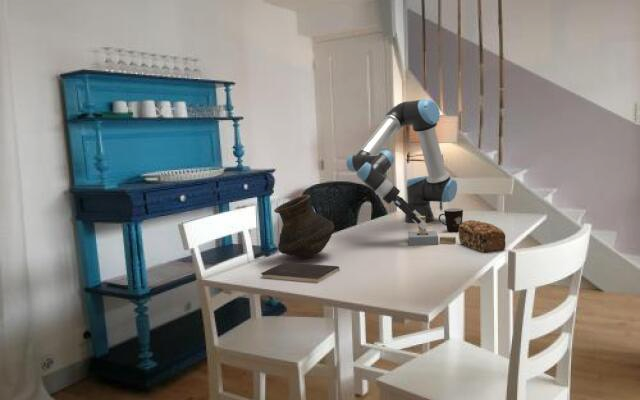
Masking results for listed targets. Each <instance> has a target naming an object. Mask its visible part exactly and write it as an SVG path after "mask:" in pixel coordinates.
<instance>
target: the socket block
mask: <svg viewBox="0 0 640 400" xmlns="http://www.w3.org/2000/svg"><path fill="white" fill-rule="evenodd" d="M407 237H408V246H411V247H412V246H434V245H436V246H437V245H439V235H438V233H437V230H426V235H419V231H408V232H407Z"/></svg>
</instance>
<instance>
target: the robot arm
mask: <svg viewBox="0 0 640 400" xmlns="http://www.w3.org/2000/svg"><path fill="white" fill-rule="evenodd" d="M440 117H441V116H440V108H439V106H438V104H437V103H436V102H435V101H434V100H433V99H418V100H411V101H409V100H407V101H402V102H400V103H398V104H397V105H395V106H393V107H392V108H391V109H389V111H388V112H387V113H386V114H385V115H384V117H382V122H381V123H380V125H379V126H378V127H377V128H376V130H375V131H374V132H373V134H372V135H371V136H370V137H369V138H368V140H366V142H365V143H364V144H363V145H362V147H361V148H360V149H359V151H358V152H357V153H356V154H353V155H349V156H348V157H347V158H346V163H345V164H346V167H347V170H348V171H349V172H354V173H356V176H357V177H358V178H359V179H360V180H361V182H362V183H364V184H366V186H367V187H368V188H370V189H371V190H372V191H373V192H375V196H377V195H378V196H379V197H381V198H382V200H383V201H384V202H385V203H387V204H388V205H389V204H392V202H394V203H393V204H394V206H395V207H397V208H398V209H399V210H401V211H402V212H403V214H405V215H404V221H405V222H407V223H413V224H414V223H415V224H416V225H417V226H418V227H419V226H420V227H421V228H422V229H423V230H424V229H425V228H426V229H427V227H428V226H429V225H428V223H430V222H433V221H435V215H434V212H433V210H432V207H431V202H433V203H434V202H436V203H450V202H452V201H453V200H454V199H455V198H456V195H457V193H458V183H457V180H455V179H454V178H451V175H450V173H449V172H448V171H446V168H445V163H444V160H443V156H442V151H441V148H440V142H439V139H438V135H437V131H436V127H437V126H438V122H439V121H440V119H441V118H440ZM406 126H409V127H410V126H411V127H412V130H413V132H414V133H417V136H418V140H419V145H420V147H421V152H422V156H423V159H424V160H423V161H424V163H425V167H426V171H427V174H428V175H426V176H419V177H412V178H409V179H407V181H406V196H407V197H406V199H407V201H406V200H404V198H403V197H402V196H401V197H400V195H399V194H400V192H401V190H400V189H399V188H397V186H396V185H394V184H393V183H392V182H391V181H390V180H388V178H386V177H385V176H384V175H385V174H386V172H387V171H388V170H389V169H390V168H391V167H392V165H394V162H395V156H394V154H393V153H392V152H391V151H390V150H387V149H383V147H384V146H385V145H386V144H387V142H388V141H389V140H390V138H392V136H393V134H394V133H395V132H398V131H399V130H400V129H401V128H404V127H406ZM382 149H383V150H382ZM418 216H425V219H426V223H425V222H424V221H423V220H422V219H421V218H419V217H418Z"/></svg>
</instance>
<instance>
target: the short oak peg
mask: <svg viewBox="0 0 640 400" xmlns="http://www.w3.org/2000/svg"><path fill="white" fill-rule="evenodd" d="M456 241H457V238H456V236H447V235H446V236H440V237H439V245H455V244H456V243H457V242H456Z"/></svg>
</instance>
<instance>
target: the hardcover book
mask: <svg viewBox="0 0 640 400" xmlns="http://www.w3.org/2000/svg"><path fill="white" fill-rule="evenodd" d="M339 271H340V266H339V265H328V264H326V265H325V264H315V263H314V264H313V263H312V264H311V263H298V262H288V261H287V262H286V261H285V262H282V263H279V264H278V265H276V266H274V267H271V268H268V269H267V270H264V271H262V272H261V273H260V274H261V276H262V278H263V279H270V280H271V279H272V280H273V279H274V280H283V281H293V282H294V281H296V282H307V283H320V282H322V281H324V280H326V279H327V278H329V277H331V276H332V275H334V274H336V273H337V272H339Z"/></svg>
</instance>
